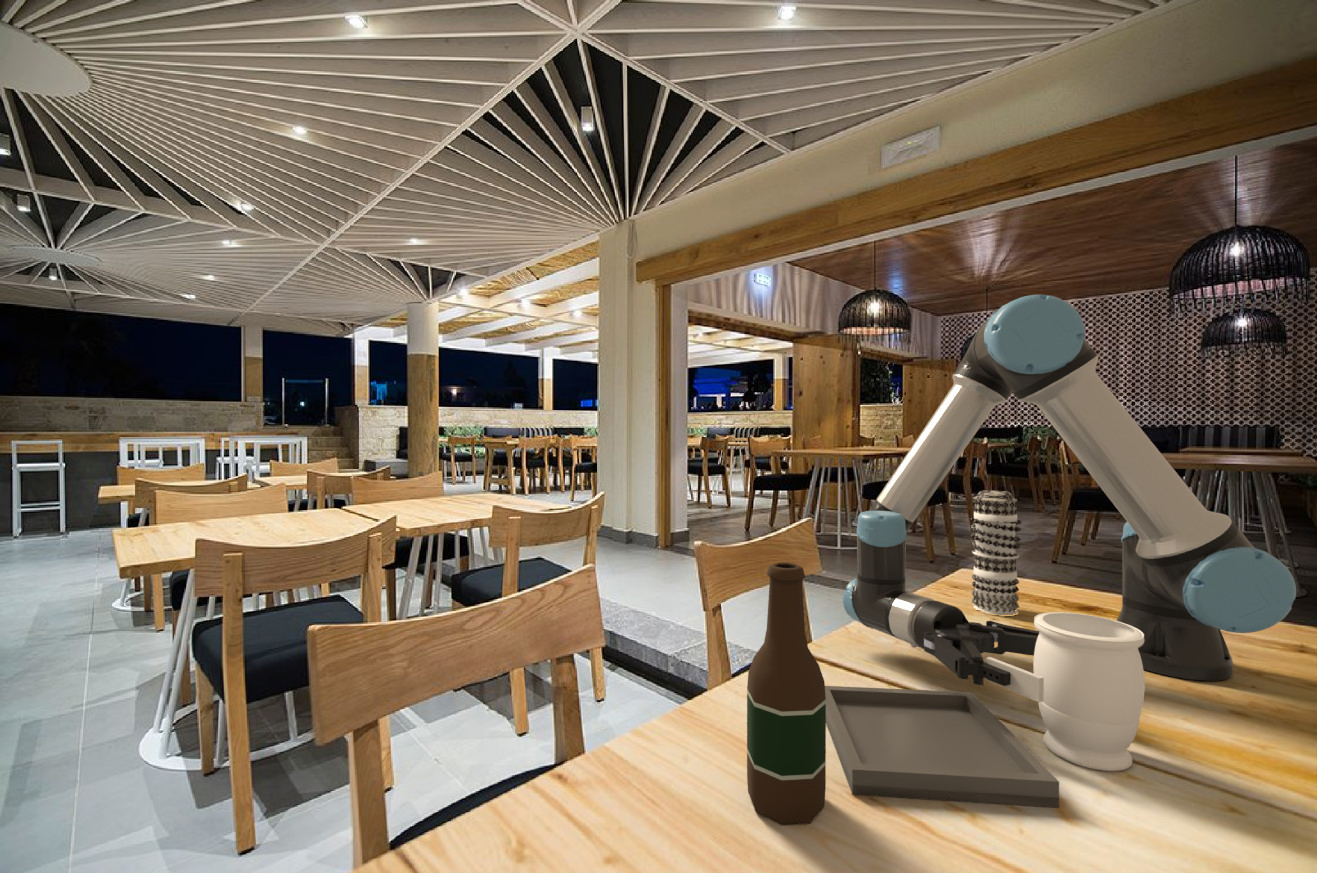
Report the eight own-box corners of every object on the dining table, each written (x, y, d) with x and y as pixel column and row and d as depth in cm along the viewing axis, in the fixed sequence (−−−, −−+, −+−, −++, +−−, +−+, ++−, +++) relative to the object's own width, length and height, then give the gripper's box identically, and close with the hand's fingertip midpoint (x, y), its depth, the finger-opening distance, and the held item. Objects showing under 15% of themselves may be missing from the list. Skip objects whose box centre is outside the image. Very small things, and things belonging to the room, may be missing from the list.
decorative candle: (1020, 620, 116) (1021, 494, 115) (967, 612, 121) (968, 492, 121) (1021, 608, 123) (1022, 490, 123) (972, 601, 128) (972, 488, 128)
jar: (1107, 788, 61) (1108, 646, 61) (1013, 740, 70) (1013, 617, 70) (1165, 765, 65) (1165, 632, 65) (1068, 723, 75) (1069, 606, 75)
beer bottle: (779, 839, 53) (780, 578, 53) (731, 792, 60) (731, 561, 60) (842, 813, 57) (843, 569, 57) (790, 772, 64) (790, 554, 64)
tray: (971, 711, 78) (971, 692, 78) (1058, 807, 58) (1058, 781, 58) (819, 704, 80) (819, 685, 80) (852, 794, 60) (852, 769, 60)
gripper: (986, 637, 93) (1141, 692, 73) (865, 662, 83) (1007, 733, 63) (986, 590, 92) (1141, 632, 73) (865, 610, 82) (1007, 664, 63)
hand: (1079, 679), depth 68 cm, fingers open, 13 cm apart
